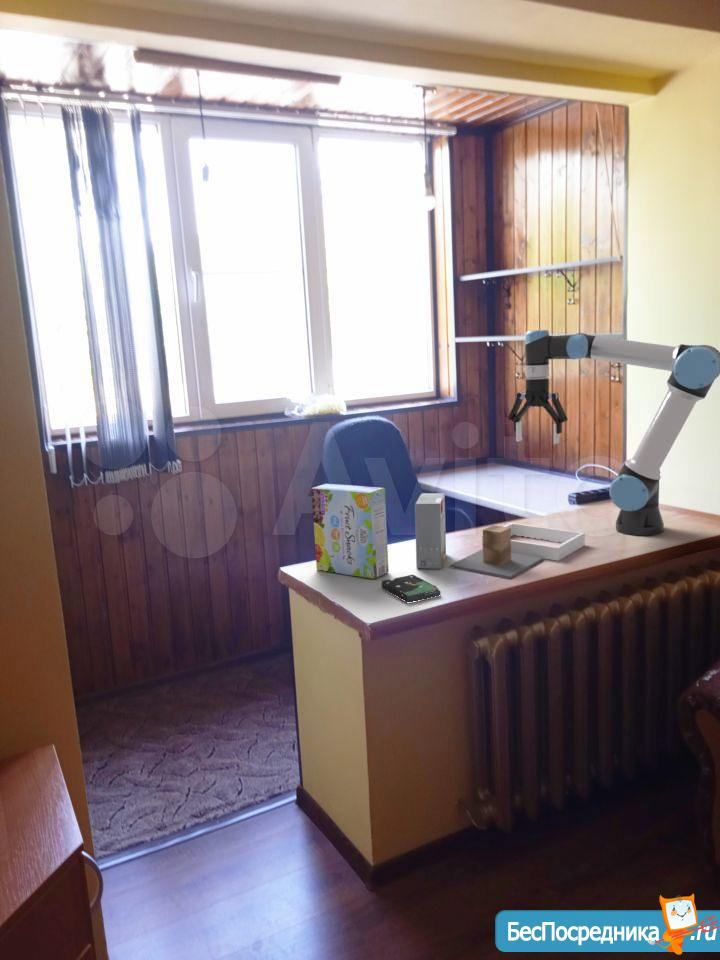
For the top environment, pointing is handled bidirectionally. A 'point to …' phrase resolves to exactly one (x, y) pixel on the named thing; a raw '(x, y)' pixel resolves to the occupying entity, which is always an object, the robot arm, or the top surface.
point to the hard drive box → (430, 530)
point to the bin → (567, 538)
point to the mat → (506, 570)
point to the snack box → (350, 530)
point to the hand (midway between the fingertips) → (537, 442)
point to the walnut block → (497, 545)
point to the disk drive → (410, 588)
